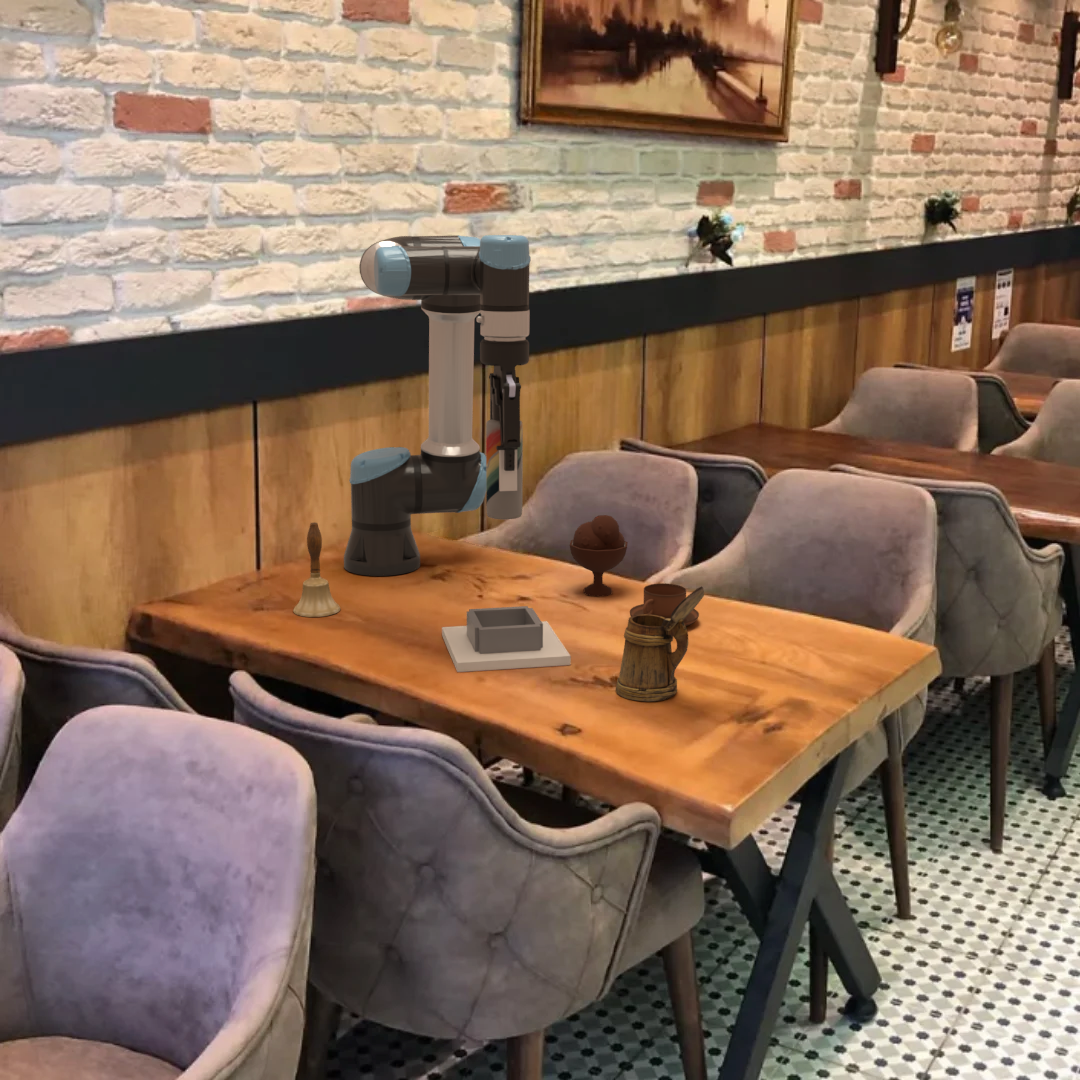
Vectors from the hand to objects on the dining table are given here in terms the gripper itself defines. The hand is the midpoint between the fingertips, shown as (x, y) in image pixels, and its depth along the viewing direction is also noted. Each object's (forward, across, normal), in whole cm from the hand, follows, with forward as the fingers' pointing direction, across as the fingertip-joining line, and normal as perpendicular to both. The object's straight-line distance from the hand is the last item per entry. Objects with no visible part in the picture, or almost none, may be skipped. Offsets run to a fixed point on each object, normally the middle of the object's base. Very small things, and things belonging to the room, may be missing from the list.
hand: (504, 485), depth 208 cm
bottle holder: (+27, 0, 0) cm, 27 cm away
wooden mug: (+28, +24, +19) cm, 41 cm away
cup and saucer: (+28, -10, +30) cm, 42 cm away
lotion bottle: (+5, 0, 0) cm, 5 cm away
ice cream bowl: (+27, -29, +23) cm, 46 cm away
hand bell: (+28, -27, -29) cm, 48 cm away
